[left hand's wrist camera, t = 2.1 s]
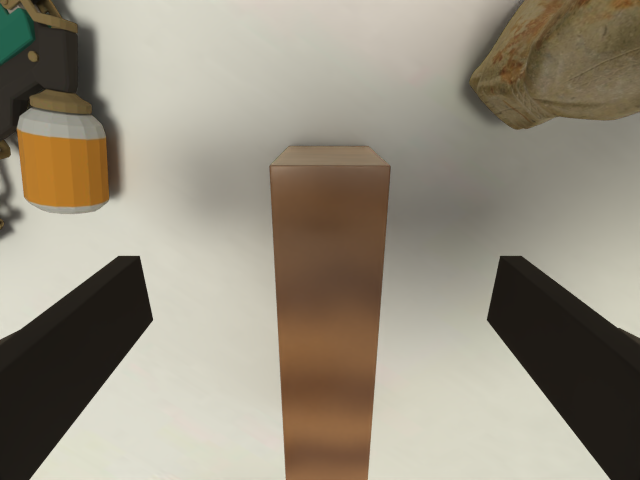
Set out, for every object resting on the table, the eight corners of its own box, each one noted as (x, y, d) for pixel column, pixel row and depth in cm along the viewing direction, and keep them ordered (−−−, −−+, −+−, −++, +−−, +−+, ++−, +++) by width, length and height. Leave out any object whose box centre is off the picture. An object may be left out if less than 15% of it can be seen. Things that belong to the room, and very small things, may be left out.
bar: (288, 146, 22) (269, 165, 15) (369, 146, 22) (391, 165, 15) (296, 416, 31) (287, 516, 23) (355, 417, 30) (365, 517, 23)
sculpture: (602, 43, 20) (1288, -118, 6) (501, 142, 22) (822, 205, 8) (538, -37, 18) (1223, -503, 4) (438, 76, 20) (684, 8, 6)
